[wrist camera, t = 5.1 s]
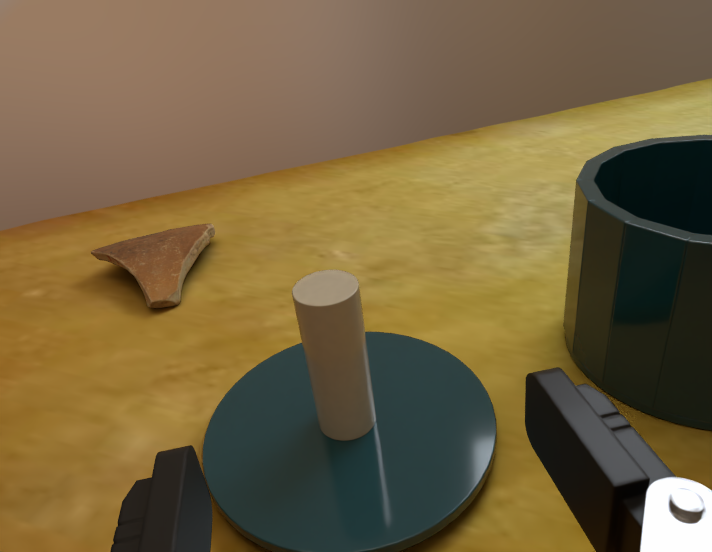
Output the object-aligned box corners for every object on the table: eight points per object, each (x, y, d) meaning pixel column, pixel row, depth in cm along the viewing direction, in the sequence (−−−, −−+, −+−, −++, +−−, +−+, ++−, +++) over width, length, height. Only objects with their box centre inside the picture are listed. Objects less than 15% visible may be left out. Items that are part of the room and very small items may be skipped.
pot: (857, 469, 24) (954, 272, 19) (540, 389, 30) (551, 224, 25) (824, 303, 33) (883, 142, 28) (587, 267, 39) (602, 130, 34)
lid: (426, 636, 20) (409, 464, 16) (145, 498, 27) (76, 349, 22) (530, 382, 30) (539, 233, 26) (308, 327, 37) (284, 200, 32)
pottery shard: (167, 316, 40) (157, 285, 39) (72, 296, 44) (60, 268, 42) (250, 244, 48) (244, 217, 46) (164, 233, 52) (156, 207, 50)
